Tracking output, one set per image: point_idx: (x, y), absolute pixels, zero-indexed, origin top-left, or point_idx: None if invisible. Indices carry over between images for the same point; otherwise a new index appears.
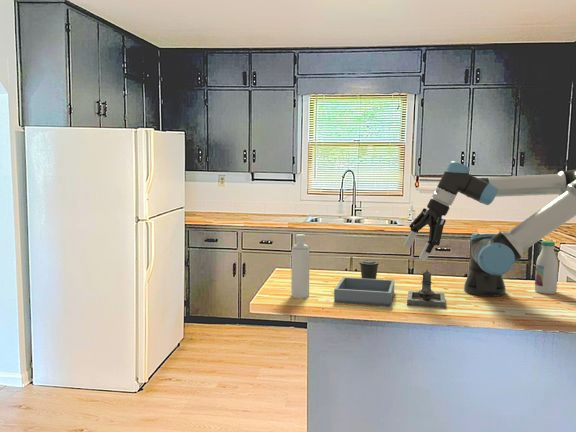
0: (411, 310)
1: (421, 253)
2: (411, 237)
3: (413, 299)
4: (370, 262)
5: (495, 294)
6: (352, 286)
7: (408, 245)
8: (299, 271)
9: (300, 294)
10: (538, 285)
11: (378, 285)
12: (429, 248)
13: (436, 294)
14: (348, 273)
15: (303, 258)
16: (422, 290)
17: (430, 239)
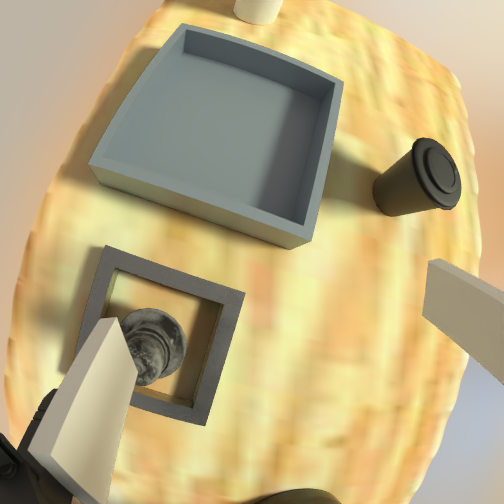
0: (54, 245)
1: (93, 346)
2: (489, 327)
3: (107, 272)
4: (429, 165)
5: None
6: (319, 114)
7: (437, 301)
8: None
9: (235, 3)
10: None
11: (306, 184)
12: (33, 427)
13: (197, 395)
14: (470, 186)
15: None
16: (140, 325)
17: (7, 497)
